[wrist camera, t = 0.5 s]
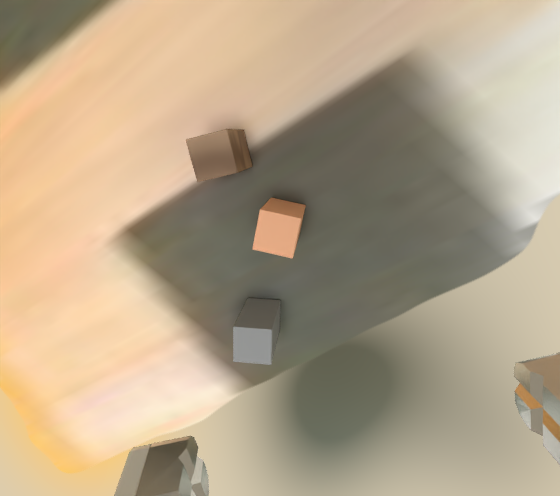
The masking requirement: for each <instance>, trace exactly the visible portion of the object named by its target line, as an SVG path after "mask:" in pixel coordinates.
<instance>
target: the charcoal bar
mask: <svg viewBox="0 0 560 496" xmlns="http://www.w3.org/2000/svg"><path fill="white" fill-rule="evenodd" d="M280 303H281V300H271V299H257V298H247V300H246V302H245V304H244V306H243V308H242V310H241V312H240V314H239V316H238V318H237V320H236V322H235V324H234V326H233V362H245V363H257V364H269V365H271V363H272V359H273V355H274V351H275V347H276V343H277V339H278V335H279V331H280Z"/></svg>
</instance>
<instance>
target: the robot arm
mask: <svg viewBox="0 0 560 496" xmlns="http://www.w3.org/2000/svg"><path fill="white" fill-rule="evenodd" d="M514 377H515V378H516V379H517V380H518V381H519V382H520V384H519V385H518V387H517V388H516V390H515V401H516V405H517V408H518V411H519V414H520V415H521V417H522V419H523V421H524V422H525V424H526V425H527V426H528V427H529V428H530V430H532V431H533V432H536V433H538V434H540V435H542V436H543V446H544V447H545V448H546V449H547V450H548V452H549V453H550V454H551V455H552V456H553V458H554V459H555V460H556V461H557V462H558V463H559V465H560V352H559V353H556V354H552V355H548V356H543V357H539V358H535V359H530V360H526V361H522V362H518V363H516V364H515V367H514ZM197 451H198V446H197V443H196V441H195V439H194V437H192V436H187V437H182V438H177V439H172V440H167V441H162V442H157V443H153V444H149V445H144V446H139V447H134V448H133V449H132V450H131V451H130V452H129V454H128V457H127V460H126V463H125V466H124V469H123V472H122V474H121V478H120V480H119V483H118V486H117V489H116V492H115V495H114V496H208V495H209V484H208V475H207V470H206V467H205V464H204V461H203V460H202V459H200V458H199V457H197Z"/></svg>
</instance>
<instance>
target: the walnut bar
mask: <svg viewBox="0 0 560 496" xmlns="http://www.w3.org/2000/svg"><path fill="white" fill-rule="evenodd" d="M186 143H187V146H188V150H189V153H190V157H191V161H192V164H193V168H194V171H195V175H196V178H197V182H200V181H204V180H209V179H213V178H217V177H221V176H225V175H230V174H234V173H238V172H240V171H243V170H245V169H248V168H250V167H252V162H251V158H250V154H249V149H248V145H247V141H246V137H245V133H244V130H233V129H225V130H221V131H217V132H213V133H210V134H206V135H202V136H198V137H194V138H190V139H186Z"/></svg>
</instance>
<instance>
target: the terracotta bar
mask: <svg viewBox="0 0 560 496" xmlns="http://www.w3.org/2000/svg"><path fill="white" fill-rule="evenodd" d="M305 207H306V205H303V204H299V203H294V202H289V201H285V200H280V199H276V198H270V199H269V200H268V201H267V203H266V204H265V205H264V206H263V207H262V208H261V209H260V212H259V218H258V223H257V228H256V233H255V238H254V244H253V249H254V250H258V251H262V252H267V253H271V254H276V255H280V256H284V257H289V258H293V255H294V252H295V248H296V245H297V242H298V238H299V234H300V229H301V225H302V220H303V216H304V211H305Z"/></svg>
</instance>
